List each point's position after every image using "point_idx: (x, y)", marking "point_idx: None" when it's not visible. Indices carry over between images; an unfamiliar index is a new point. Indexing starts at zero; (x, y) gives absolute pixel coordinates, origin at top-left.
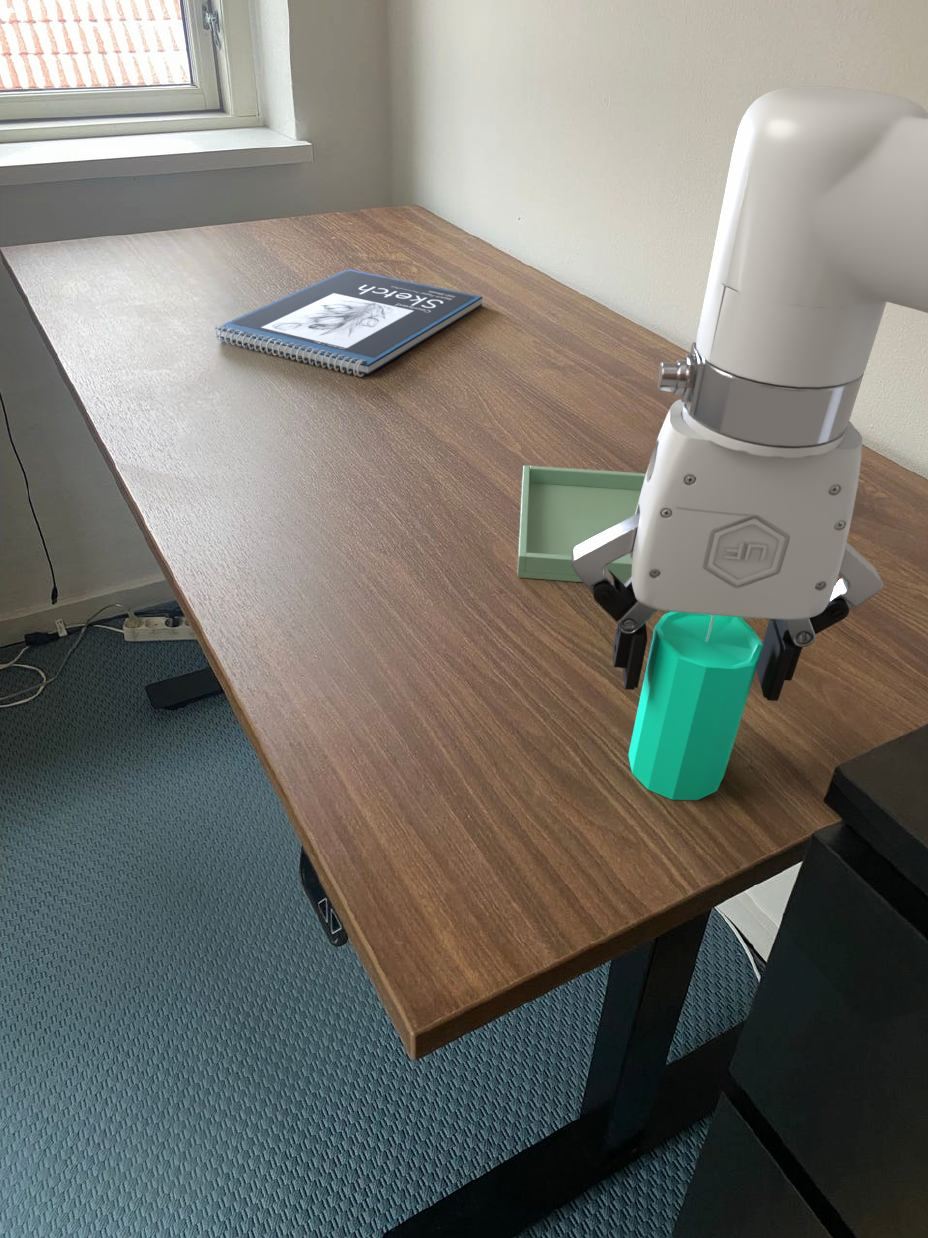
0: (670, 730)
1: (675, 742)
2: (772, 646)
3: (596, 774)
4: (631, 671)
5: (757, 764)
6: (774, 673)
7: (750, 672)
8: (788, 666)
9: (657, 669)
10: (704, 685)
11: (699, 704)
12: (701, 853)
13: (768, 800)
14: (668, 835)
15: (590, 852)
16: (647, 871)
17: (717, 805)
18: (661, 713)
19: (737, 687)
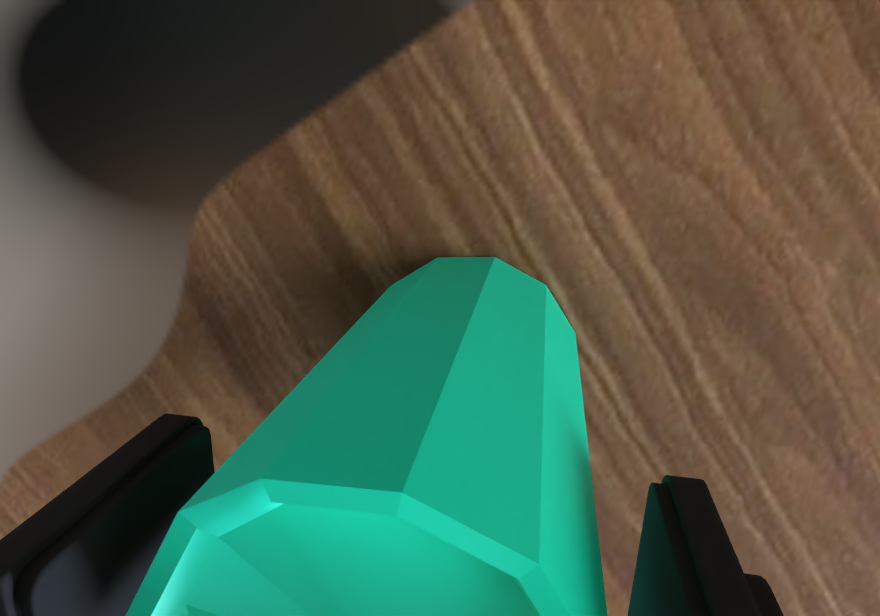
0: (520, 349)
1: (502, 324)
2: (98, 612)
3: (662, 329)
4: (714, 537)
5: (295, 360)
6: (125, 487)
7: (207, 484)
8: (49, 504)
9: (591, 542)
10: (414, 427)
11: (435, 379)
12: (453, 101)
13: (286, 263)
14: (521, 150)
15: (728, 82)
16: (592, 33)
17: (395, 245)
18: (552, 396)
19: (278, 430)
